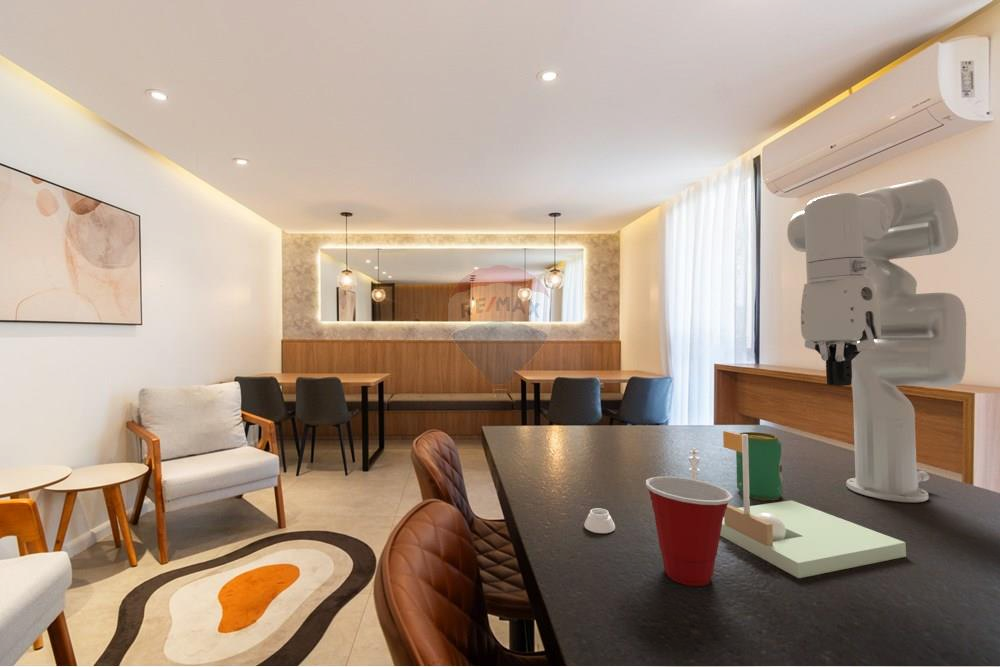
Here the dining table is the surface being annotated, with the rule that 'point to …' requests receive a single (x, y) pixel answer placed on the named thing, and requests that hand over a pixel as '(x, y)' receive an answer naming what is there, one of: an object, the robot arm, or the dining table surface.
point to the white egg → (774, 525)
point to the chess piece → (694, 464)
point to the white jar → (599, 521)
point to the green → (802, 532)
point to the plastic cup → (688, 526)
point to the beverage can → (762, 466)
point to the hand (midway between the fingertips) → (839, 384)
